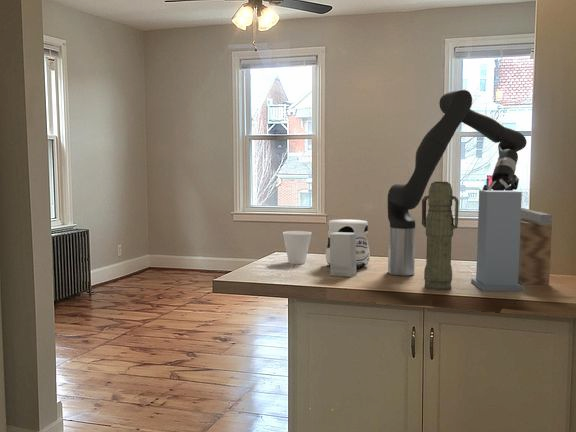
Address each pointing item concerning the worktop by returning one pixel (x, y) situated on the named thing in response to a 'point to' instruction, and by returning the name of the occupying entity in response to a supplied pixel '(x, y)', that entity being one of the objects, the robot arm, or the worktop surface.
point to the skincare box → (343, 254)
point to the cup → (297, 245)
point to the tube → (536, 217)
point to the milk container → (361, 238)
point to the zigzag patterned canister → (534, 253)
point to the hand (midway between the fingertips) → (495, 201)
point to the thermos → (439, 235)
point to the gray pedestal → (498, 241)
